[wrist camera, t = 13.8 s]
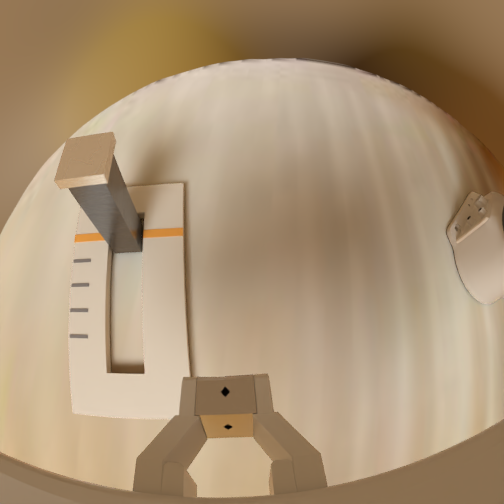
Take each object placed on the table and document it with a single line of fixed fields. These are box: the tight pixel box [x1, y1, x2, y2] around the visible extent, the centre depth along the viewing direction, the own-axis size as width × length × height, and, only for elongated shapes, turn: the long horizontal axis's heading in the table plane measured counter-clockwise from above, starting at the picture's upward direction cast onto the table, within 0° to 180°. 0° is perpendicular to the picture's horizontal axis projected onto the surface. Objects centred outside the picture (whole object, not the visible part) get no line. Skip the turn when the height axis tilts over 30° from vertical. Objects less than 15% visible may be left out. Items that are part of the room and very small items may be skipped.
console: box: [69, 183, 191, 419], centre depth 32 cm, size 28×14×2 cm, turn 6°
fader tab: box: [54, 132, 143, 253], centre depth 28 cm, size 4×4×16 cm
